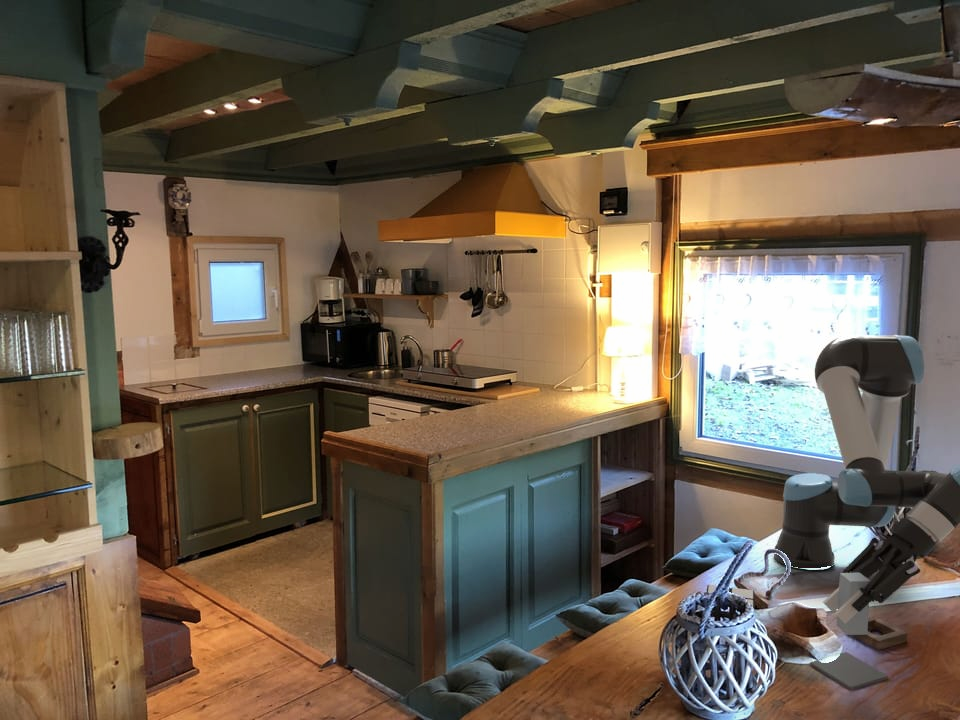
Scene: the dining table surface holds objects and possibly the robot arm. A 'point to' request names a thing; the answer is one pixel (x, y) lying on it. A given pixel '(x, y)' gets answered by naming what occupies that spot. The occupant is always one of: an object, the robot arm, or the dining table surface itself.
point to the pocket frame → (883, 641)
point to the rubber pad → (850, 671)
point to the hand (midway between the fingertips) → (834, 612)
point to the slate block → (847, 589)
